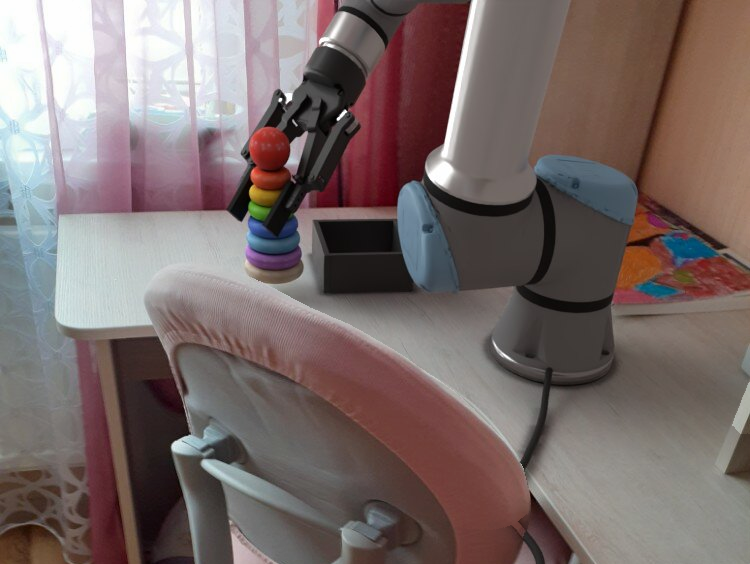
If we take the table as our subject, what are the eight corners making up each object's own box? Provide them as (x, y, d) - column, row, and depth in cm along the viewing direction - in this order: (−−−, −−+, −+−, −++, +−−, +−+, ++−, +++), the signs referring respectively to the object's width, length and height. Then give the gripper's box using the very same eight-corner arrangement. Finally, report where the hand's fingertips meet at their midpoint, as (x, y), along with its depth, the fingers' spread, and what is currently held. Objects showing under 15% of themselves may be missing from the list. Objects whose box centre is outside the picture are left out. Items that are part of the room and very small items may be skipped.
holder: (412, 291, 118) (416, 253, 115) (323, 293, 116) (324, 255, 113) (394, 254, 128) (397, 218, 124) (311, 255, 126) (312, 219, 122)
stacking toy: (307, 264, 117) (310, 122, 105) (298, 289, 111) (299, 142, 99) (251, 258, 117) (247, 116, 105) (238, 283, 111) (232, 135, 99)
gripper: (412, 99, 105) (319, 261, 106) (303, 68, 114) (218, 217, 115) (387, 58, 99) (289, 231, 99) (274, 28, 108) (184, 187, 108)
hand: (251, 223), depth 107 cm, fingers closed on stacking toy, 6 cm apart
